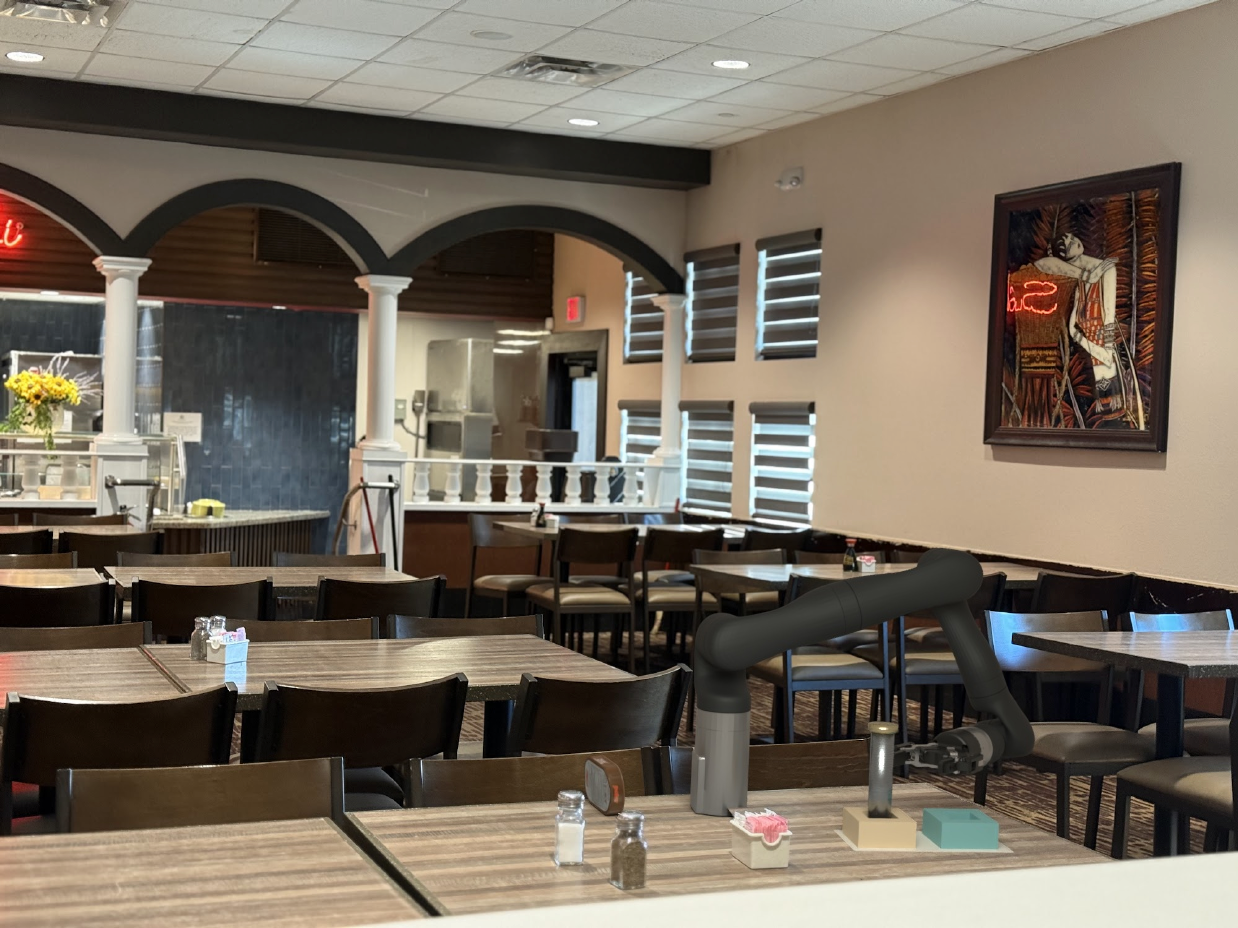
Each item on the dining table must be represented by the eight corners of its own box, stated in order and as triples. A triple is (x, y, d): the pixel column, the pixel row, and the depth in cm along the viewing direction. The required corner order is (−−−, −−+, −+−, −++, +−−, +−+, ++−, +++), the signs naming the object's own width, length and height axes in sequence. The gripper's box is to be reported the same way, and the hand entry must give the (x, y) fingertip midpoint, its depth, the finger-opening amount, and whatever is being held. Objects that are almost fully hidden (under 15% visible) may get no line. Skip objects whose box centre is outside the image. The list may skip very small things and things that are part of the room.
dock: (853, 860, 217) (855, 823, 217) (833, 839, 229) (834, 804, 229) (1013, 861, 220) (1015, 825, 220) (985, 840, 232) (986, 806, 232)
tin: (625, 819, 237) (627, 768, 237) (607, 820, 236) (609, 768, 236) (597, 798, 251) (599, 749, 251) (580, 798, 250) (582, 750, 250)
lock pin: (868, 843, 222) (873, 726, 221) (859, 836, 226) (864, 721, 226) (897, 844, 222) (902, 727, 222) (888, 836, 227) (893, 721, 227)
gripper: (924, 722, 250) (877, 734, 237) (1002, 734, 241) (957, 747, 228) (923, 765, 250) (876, 780, 237) (1000, 779, 241) (956, 795, 228)
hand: (916, 764), depth 233 cm, fingers open, 8 cm apart
